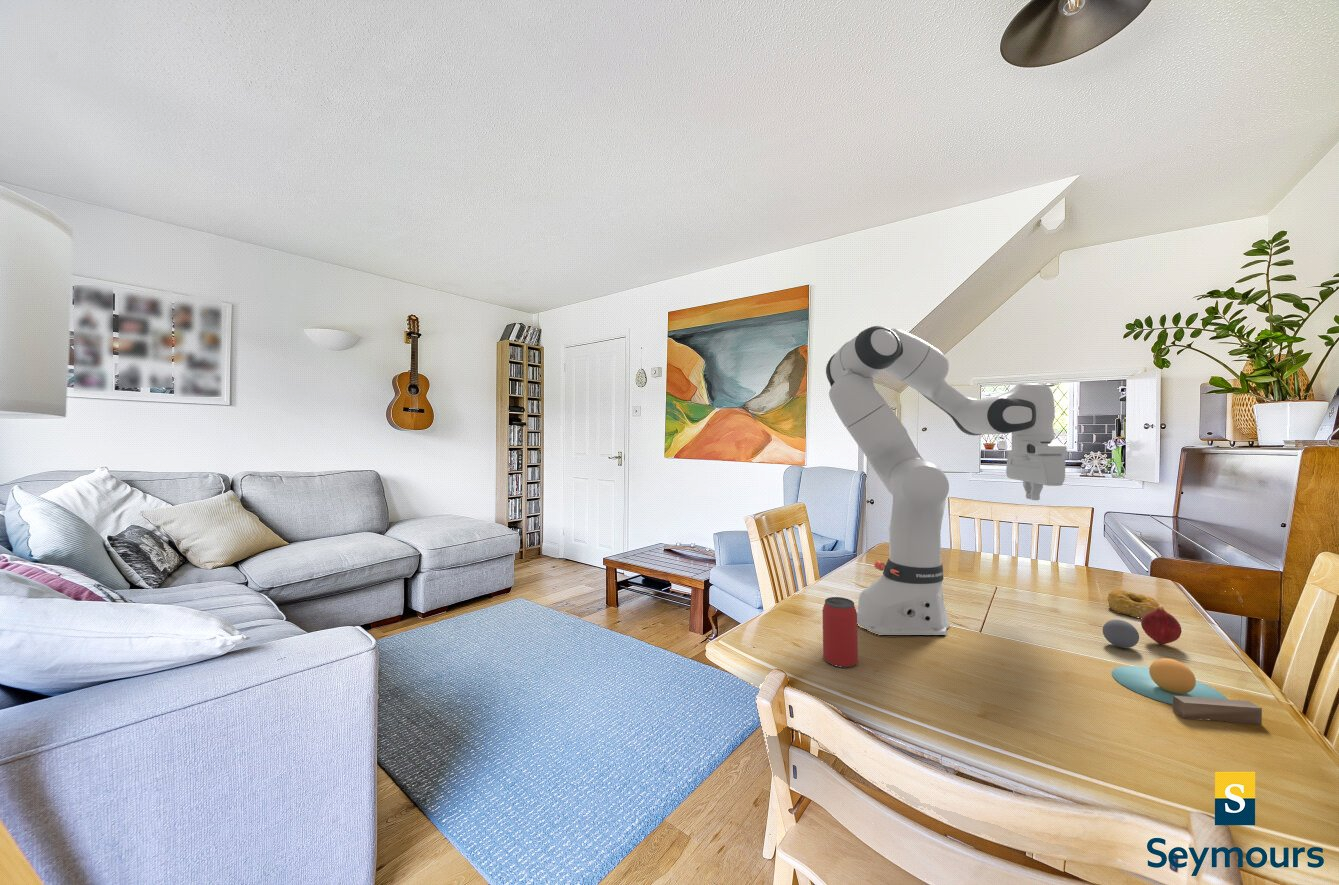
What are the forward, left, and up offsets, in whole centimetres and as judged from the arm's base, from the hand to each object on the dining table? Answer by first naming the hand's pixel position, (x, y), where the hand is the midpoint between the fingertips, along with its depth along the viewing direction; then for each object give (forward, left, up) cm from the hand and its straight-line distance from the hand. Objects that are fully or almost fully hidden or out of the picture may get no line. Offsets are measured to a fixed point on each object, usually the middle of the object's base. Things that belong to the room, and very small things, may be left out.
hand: (1032, 499), depth 122 cm
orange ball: (-15, -40, -25) cm, 49 cm away
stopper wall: (-17, -47, -27) cm, 57 cm away
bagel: (+18, -10, -28) cm, 35 cm away
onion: (+4, -25, -27) cm, 37 cm away
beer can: (-64, -18, -27) cm, 72 cm away
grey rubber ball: (-5, -24, -25) cm, 35 cm away
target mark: (-14, -38, -27) cm, 49 cm away
